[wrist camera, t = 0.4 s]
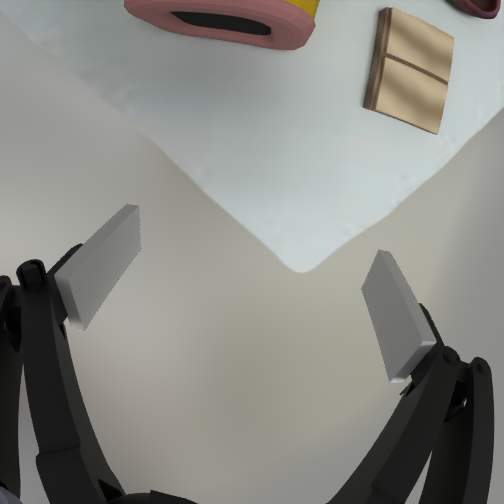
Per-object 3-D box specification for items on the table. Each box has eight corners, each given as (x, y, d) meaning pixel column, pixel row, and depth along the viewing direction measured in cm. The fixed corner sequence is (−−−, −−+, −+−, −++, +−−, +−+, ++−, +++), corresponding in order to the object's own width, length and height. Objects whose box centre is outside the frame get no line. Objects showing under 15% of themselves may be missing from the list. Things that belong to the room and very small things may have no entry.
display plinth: (379, 12, 24) (389, 5, 21) (443, 41, 24) (456, 39, 21) (362, 107, 33) (372, 108, 29) (427, 131, 33) (440, 136, 29)
